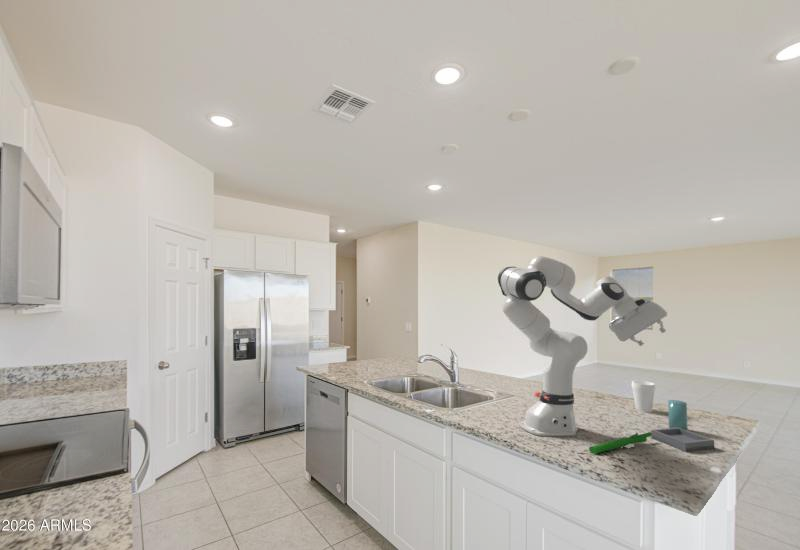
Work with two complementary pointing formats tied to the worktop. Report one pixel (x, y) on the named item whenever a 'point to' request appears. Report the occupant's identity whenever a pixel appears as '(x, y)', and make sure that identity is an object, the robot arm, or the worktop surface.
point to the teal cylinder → (677, 414)
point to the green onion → (620, 443)
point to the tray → (682, 439)
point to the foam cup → (643, 395)
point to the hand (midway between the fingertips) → (653, 338)
